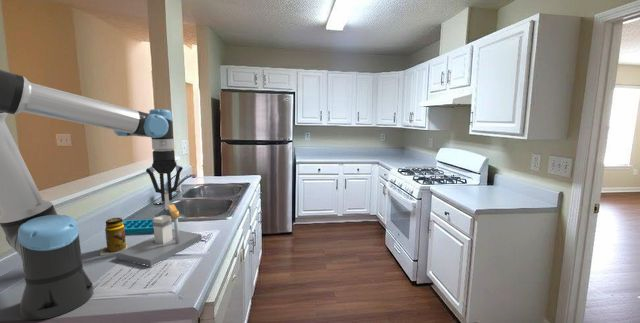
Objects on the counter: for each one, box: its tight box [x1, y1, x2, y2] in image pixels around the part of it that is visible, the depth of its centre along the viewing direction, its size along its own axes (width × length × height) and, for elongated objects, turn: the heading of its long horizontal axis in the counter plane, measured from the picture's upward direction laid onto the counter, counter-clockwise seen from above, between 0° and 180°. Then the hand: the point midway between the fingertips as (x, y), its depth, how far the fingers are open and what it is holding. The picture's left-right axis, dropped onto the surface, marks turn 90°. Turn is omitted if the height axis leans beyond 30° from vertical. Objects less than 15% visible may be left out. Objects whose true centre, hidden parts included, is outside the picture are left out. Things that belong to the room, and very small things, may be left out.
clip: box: [168, 203, 180, 243], centre depth 117 cm, size 2×12×12 cm, turn 34°
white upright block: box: [152, 214, 173, 244], centre depth 116 cm, size 5×5×12 cm
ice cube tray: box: [123, 218, 154, 235], centre depth 134 cm, size 12×20×3 cm, turn 99°
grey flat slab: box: [117, 228, 203, 267], centre depth 114 cm, size 24×16×2 cm, turn 160°
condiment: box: [99, 217, 128, 256], centre depth 113 cm, size 7×8×12 cm
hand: (167, 208), depth 118 cm, fingers closed
